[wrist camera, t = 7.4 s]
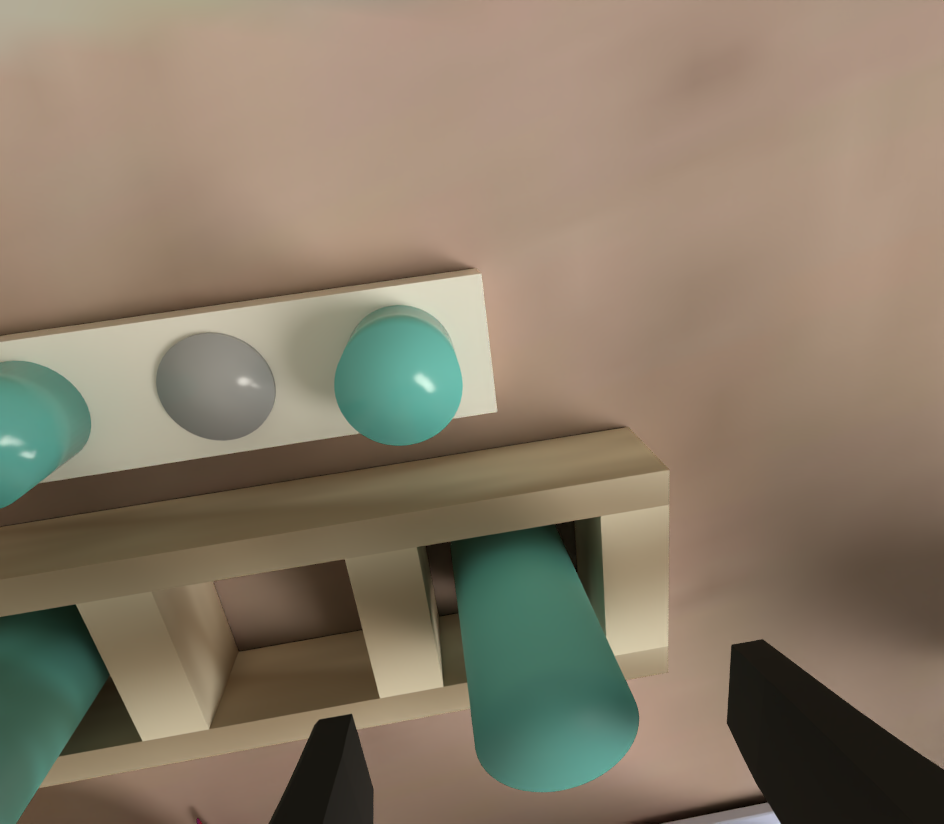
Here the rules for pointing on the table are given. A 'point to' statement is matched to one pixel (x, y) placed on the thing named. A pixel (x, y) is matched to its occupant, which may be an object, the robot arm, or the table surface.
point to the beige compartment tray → (282, 547)
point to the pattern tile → (244, 378)
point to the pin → (538, 664)
